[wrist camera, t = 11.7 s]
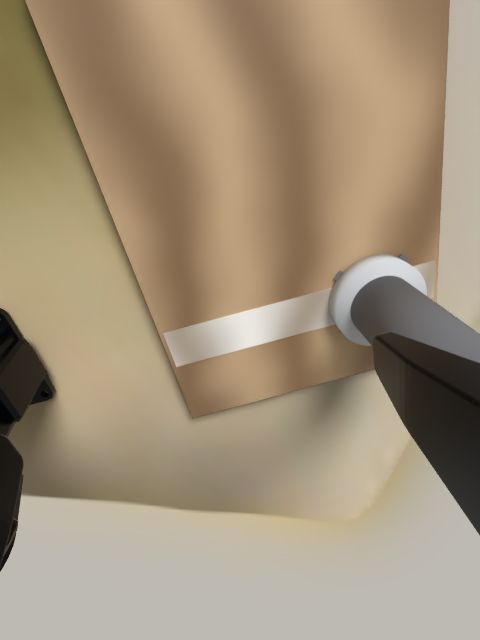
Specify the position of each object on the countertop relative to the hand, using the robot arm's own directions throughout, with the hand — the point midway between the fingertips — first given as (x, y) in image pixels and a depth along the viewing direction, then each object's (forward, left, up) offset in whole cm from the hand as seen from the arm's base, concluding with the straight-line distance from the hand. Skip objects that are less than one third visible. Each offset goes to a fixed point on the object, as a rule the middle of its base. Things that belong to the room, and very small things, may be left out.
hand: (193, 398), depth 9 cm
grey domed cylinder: (+9, -5, -11) cm, 16 cm away
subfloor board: (+5, 0, -13) cm, 14 cm away
